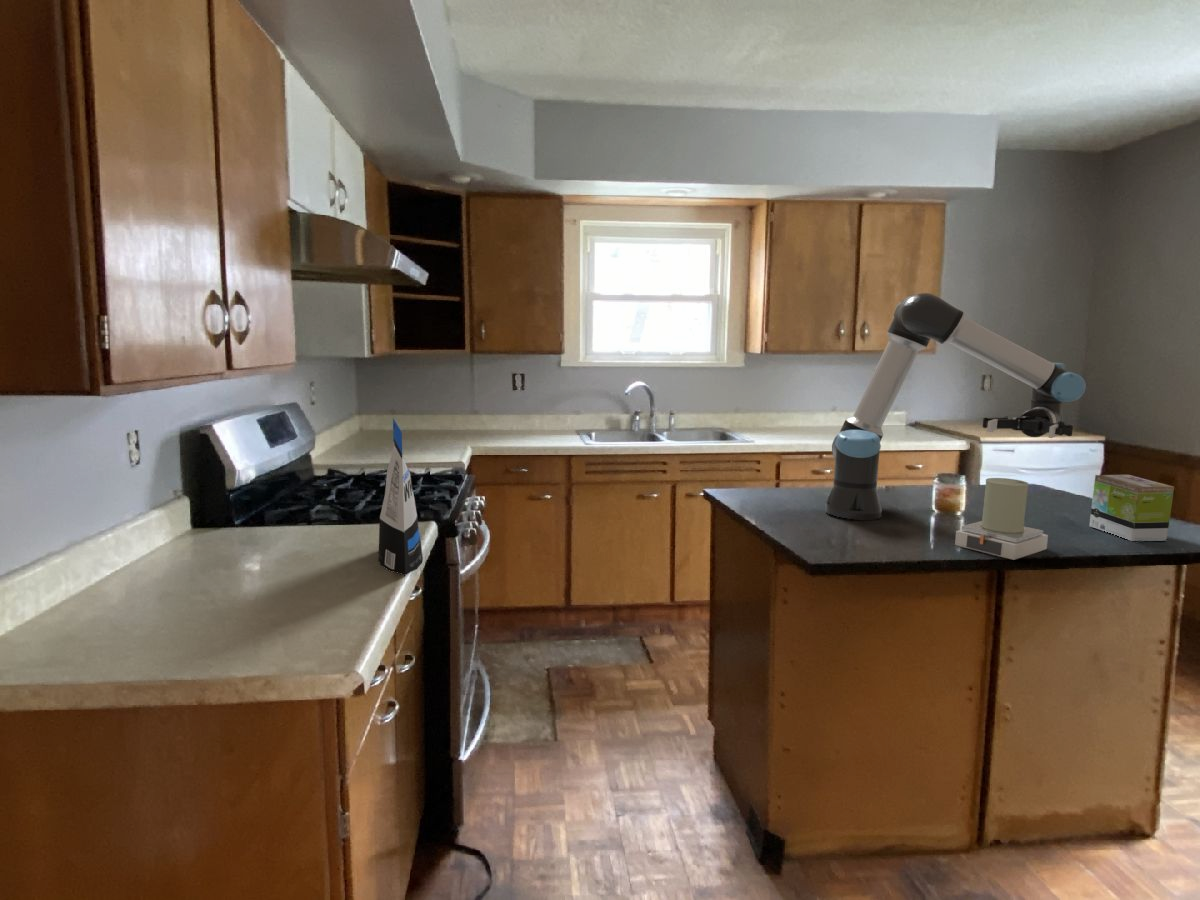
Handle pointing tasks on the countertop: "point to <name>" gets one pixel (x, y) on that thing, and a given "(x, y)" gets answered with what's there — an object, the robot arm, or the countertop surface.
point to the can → (1004, 505)
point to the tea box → (1131, 507)
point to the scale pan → (1002, 533)
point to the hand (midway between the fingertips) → (1019, 429)
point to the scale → (1001, 545)
